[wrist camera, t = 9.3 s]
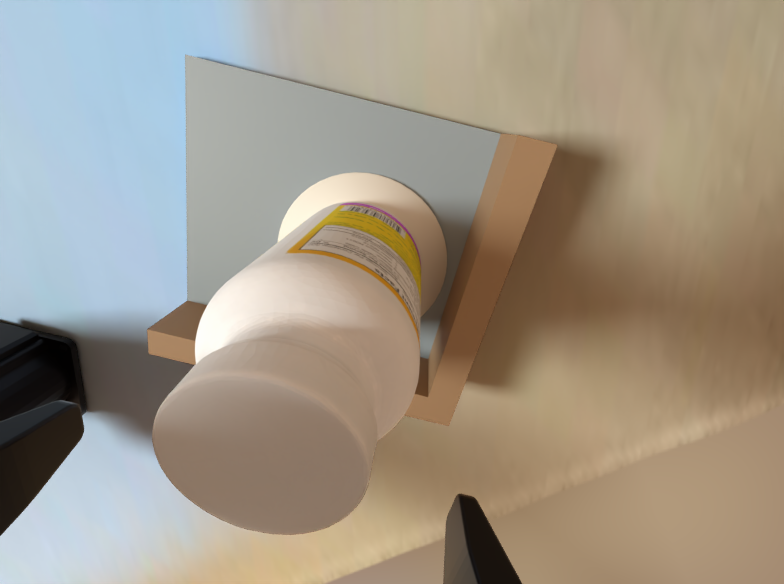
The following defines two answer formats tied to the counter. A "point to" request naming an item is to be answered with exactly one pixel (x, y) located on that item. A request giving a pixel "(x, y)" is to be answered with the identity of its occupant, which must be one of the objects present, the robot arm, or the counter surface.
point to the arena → (352, 184)
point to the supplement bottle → (298, 375)
